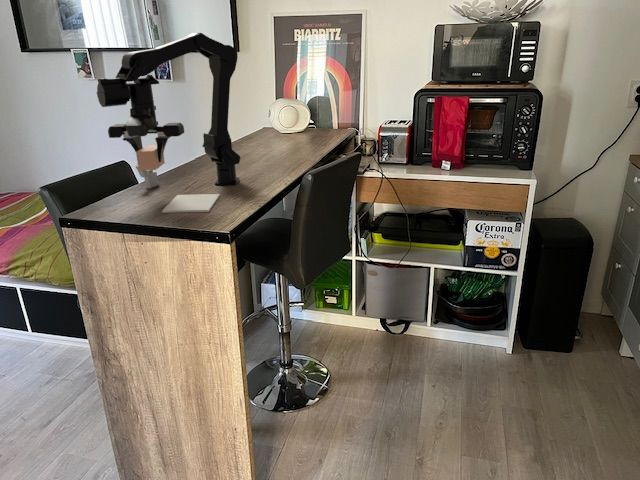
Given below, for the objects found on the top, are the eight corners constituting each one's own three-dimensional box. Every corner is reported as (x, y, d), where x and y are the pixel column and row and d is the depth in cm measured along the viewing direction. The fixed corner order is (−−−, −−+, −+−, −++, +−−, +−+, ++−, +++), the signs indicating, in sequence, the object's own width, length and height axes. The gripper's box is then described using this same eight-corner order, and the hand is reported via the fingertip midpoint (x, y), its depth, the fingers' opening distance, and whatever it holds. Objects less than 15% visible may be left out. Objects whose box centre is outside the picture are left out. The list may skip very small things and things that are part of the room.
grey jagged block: (154, 184, 154) (150, 158, 151) (158, 184, 154) (154, 159, 151) (139, 190, 148) (134, 164, 145) (144, 191, 148) (139, 164, 145)
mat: (177, 196, 142) (177, 194, 141) (219, 195, 141) (219, 194, 141) (162, 212, 129) (162, 210, 128) (208, 211, 128) (208, 209, 128)
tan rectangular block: (148, 163, 141) (146, 145, 139) (164, 163, 141) (162, 145, 139) (138, 170, 134) (135, 151, 132) (155, 169, 134) (152, 151, 132)
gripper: (93, 108, 124) (105, 169, 130) (168, 106, 123) (176, 168, 129) (112, 102, 134) (122, 160, 140) (181, 101, 134) (188, 158, 139)
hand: (151, 162), depth 137 cm, fingers closed on tan rectangular block, 4 cm apart
